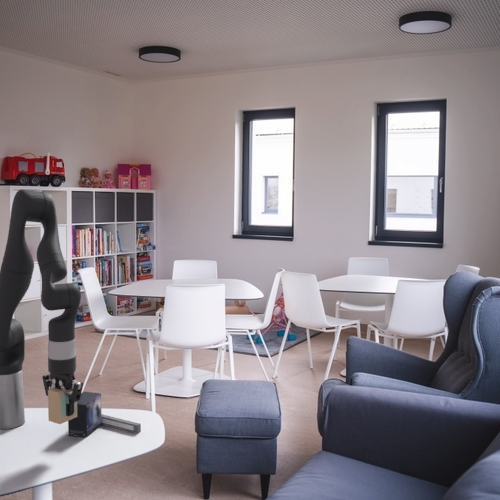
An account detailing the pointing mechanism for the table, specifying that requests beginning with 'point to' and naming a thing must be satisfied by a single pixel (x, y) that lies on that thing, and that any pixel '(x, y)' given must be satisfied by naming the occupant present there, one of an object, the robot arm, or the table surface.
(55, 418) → the kraft carton
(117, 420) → the rail
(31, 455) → the table surface
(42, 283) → the robot arm
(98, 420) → the small box
